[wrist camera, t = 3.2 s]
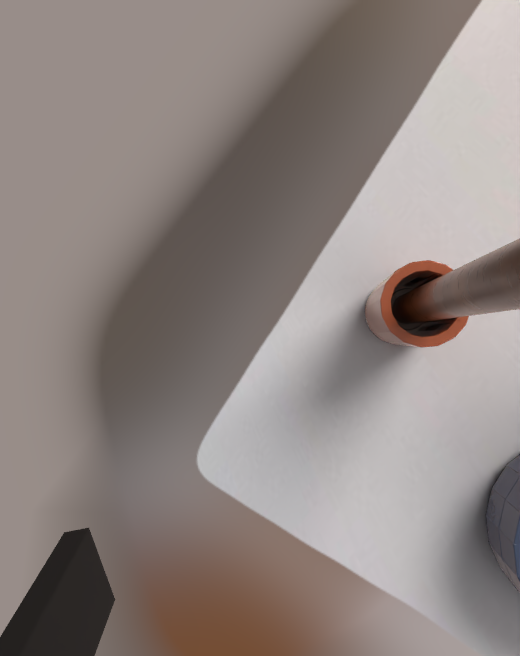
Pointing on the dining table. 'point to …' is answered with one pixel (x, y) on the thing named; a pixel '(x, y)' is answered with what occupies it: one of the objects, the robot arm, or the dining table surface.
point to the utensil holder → (384, 320)
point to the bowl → (506, 521)
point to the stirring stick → (464, 290)
